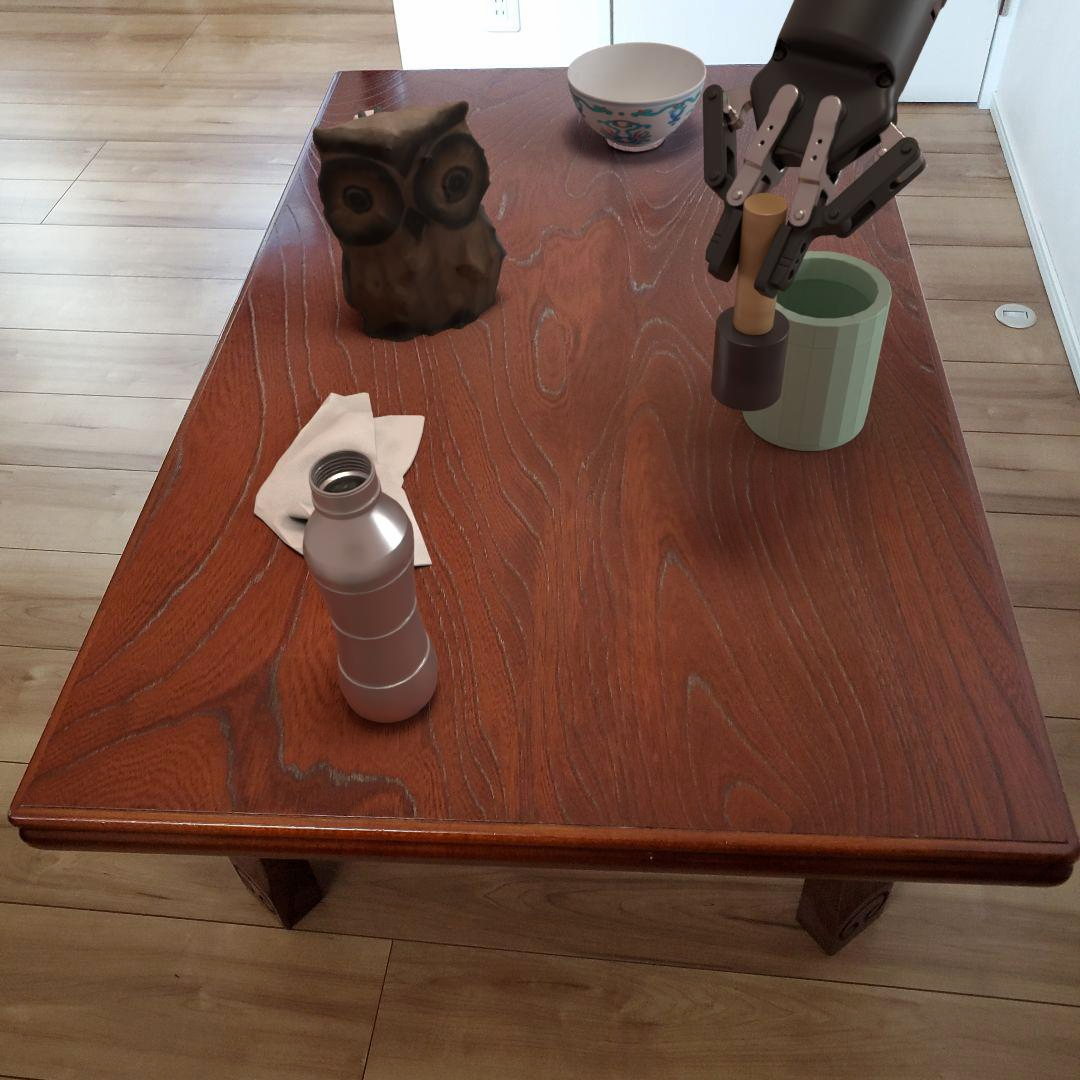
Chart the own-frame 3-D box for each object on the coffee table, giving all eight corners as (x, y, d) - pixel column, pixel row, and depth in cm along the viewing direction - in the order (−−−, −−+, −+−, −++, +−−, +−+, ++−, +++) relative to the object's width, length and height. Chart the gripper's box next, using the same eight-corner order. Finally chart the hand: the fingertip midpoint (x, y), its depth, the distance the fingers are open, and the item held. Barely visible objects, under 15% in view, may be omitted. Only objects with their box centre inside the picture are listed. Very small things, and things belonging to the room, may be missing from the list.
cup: (811, 360, 97) (830, 237, 88) (891, 422, 91) (920, 296, 82) (717, 400, 94) (727, 277, 85) (794, 467, 88) (813, 342, 79)
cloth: (271, 401, 97) (265, 380, 95) (430, 388, 97) (427, 367, 95) (237, 635, 79) (229, 614, 77) (432, 617, 79) (429, 596, 77)
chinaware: (542, 149, 126) (539, 81, 120) (618, 97, 134) (618, 31, 128) (654, 184, 119) (656, 114, 113) (727, 128, 127) (732, 60, 121)
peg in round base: (752, 360, 73) (772, 175, 64) (795, 395, 70) (823, 208, 61) (697, 383, 72) (709, 198, 62) (739, 420, 69) (758, 233, 59)
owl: (515, 299, 106) (498, 91, 91) (433, 370, 99) (402, 157, 84) (410, 263, 111) (379, 61, 96) (325, 328, 104) (278, 121, 89)
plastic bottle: (330, 727, 73) (260, 507, 58) (366, 646, 77) (308, 424, 63) (424, 744, 71) (376, 523, 57) (455, 661, 76) (417, 438, 62)
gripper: (741, -72, 61) (612, 229, 63) (990, -24, 55) (836, 308, 57) (780, -3, 67) (661, 267, 70) (1005, 47, 61) (867, 341, 64)
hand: (741, 284), depth 63 cm, fingers closed on peg in round base, 2 cm apart
